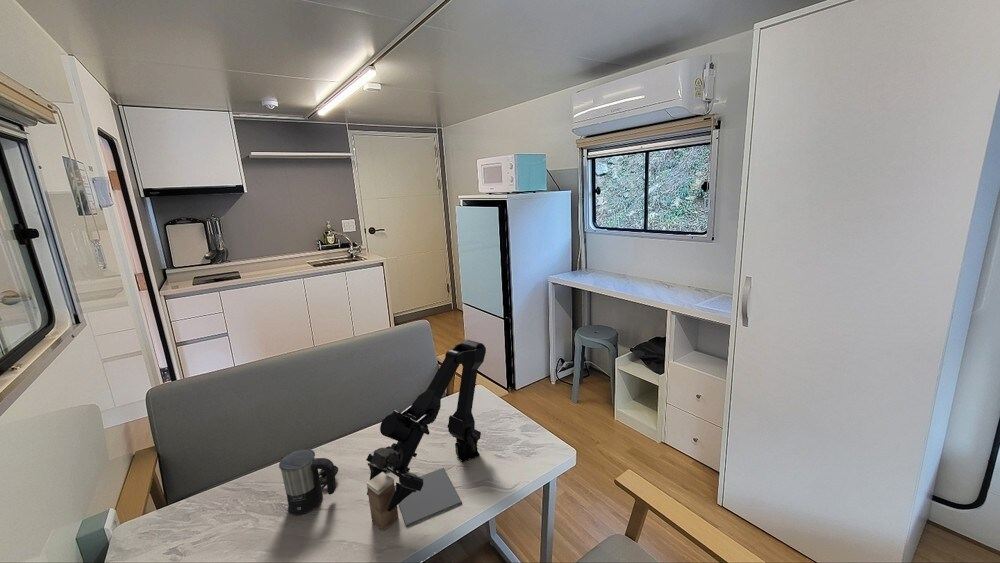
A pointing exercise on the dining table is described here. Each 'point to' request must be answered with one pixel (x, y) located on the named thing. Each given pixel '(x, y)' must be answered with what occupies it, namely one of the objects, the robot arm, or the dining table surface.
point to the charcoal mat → (429, 498)
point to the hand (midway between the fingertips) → (378, 503)
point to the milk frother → (306, 480)
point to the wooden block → (382, 500)
